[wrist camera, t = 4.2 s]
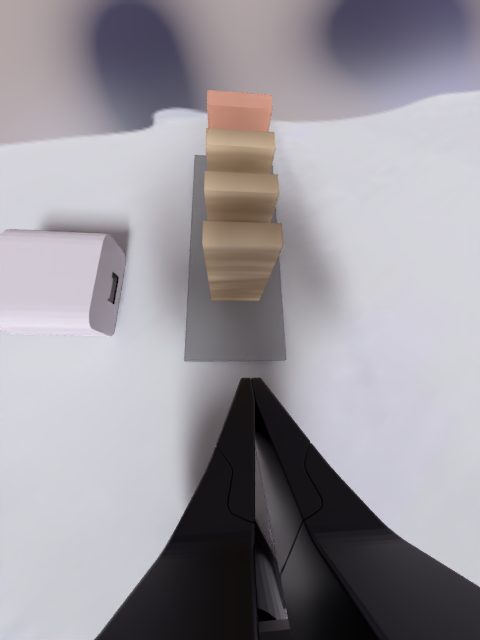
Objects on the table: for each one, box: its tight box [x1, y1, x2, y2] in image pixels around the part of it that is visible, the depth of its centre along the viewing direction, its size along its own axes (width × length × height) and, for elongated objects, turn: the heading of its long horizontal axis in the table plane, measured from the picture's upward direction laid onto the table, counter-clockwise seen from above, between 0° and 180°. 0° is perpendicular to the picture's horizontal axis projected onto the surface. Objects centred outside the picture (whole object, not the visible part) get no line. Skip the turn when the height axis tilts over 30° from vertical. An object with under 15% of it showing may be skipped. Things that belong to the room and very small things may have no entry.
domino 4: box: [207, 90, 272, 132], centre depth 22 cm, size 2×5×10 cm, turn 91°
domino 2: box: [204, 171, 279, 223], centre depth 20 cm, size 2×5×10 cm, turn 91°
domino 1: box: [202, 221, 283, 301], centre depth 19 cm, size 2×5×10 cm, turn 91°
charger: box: [0, 229, 126, 336], centre depth 21 cm, size 5×9×15 cm
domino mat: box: [184, 155, 286, 361], centre depth 25 cm, size 26×10×1 cm, turn 1°
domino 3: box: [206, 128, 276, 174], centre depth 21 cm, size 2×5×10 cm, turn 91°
